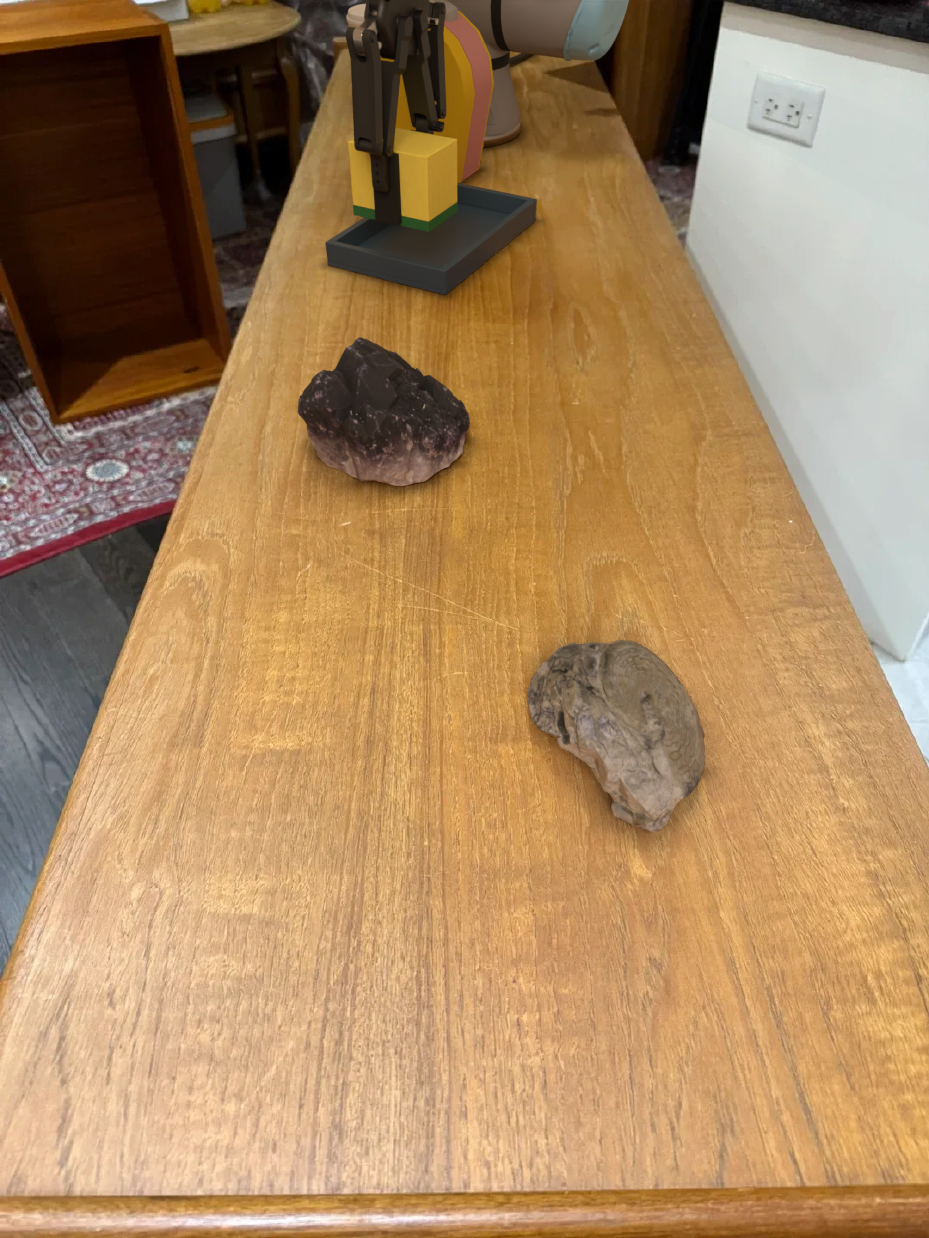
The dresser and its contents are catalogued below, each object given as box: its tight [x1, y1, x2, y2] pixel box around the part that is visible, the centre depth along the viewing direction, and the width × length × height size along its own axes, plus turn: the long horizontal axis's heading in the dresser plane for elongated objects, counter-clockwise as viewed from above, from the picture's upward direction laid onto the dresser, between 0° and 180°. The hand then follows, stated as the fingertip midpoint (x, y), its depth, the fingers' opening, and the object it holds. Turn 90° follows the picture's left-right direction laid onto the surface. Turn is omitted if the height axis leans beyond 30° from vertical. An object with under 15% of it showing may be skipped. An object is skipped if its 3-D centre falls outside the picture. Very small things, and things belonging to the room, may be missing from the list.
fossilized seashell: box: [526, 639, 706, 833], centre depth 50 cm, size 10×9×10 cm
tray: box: [325, 182, 538, 296], centre depth 98 cm, size 22×15×2 cm
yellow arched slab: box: [380, 0, 494, 183], centre depth 108 cm, size 15×8×18 cm, turn 63°
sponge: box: [347, 128, 457, 232], centre depth 89 cm, size 6×9×7 cm, turn 61°
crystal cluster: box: [297, 336, 471, 487], centre depth 68 cm, size 13×14×10 cm
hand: (405, 210), depth 91 cm, fingers closed on sponge, 6 cm apart
